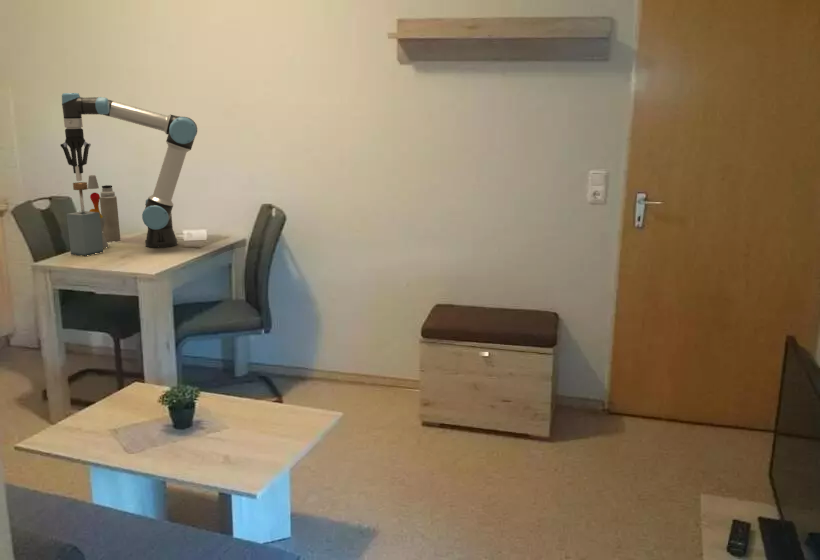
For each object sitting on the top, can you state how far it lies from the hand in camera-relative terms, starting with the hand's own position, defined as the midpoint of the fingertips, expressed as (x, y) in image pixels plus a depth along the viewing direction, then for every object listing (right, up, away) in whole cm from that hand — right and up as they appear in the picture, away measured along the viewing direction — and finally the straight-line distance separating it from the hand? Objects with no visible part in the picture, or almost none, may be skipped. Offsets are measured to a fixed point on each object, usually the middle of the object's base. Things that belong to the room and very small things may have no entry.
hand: (79, 180), depth 353 cm
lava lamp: (0, -30, +22) cm, 37 cm away
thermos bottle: (0, -26, +40) cm, 48 cm away
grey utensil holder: (0, -33, +8) cm, 34 cm away
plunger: (0, -22, +5) cm, 23 cm away
